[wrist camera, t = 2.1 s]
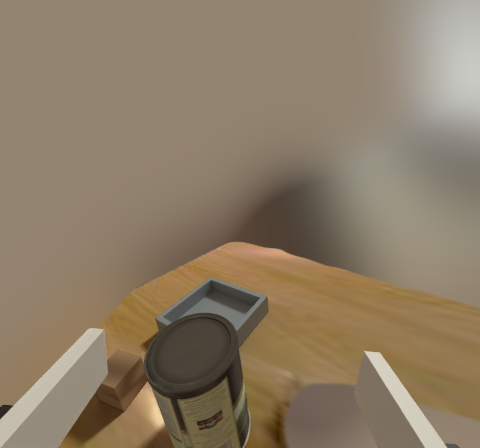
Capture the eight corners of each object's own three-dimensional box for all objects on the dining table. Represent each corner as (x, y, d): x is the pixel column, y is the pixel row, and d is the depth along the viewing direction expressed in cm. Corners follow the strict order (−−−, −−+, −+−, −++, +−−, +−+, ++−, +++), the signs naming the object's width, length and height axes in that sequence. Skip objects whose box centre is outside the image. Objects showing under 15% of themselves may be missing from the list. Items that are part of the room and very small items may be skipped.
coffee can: (215, 372, 37) (200, 301, 32) (266, 418, 30) (257, 337, 26) (157, 431, 31) (127, 352, 26) (206, 507, 24) (177, 419, 19)
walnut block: (126, 371, 40) (117, 349, 38) (148, 379, 38) (140, 357, 36) (100, 401, 35) (89, 378, 34) (124, 412, 33) (114, 388, 32)
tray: (213, 289, 58) (210, 276, 57) (268, 311, 49) (267, 296, 48) (159, 333, 47) (155, 318, 45) (219, 372, 37) (215, 355, 36)
